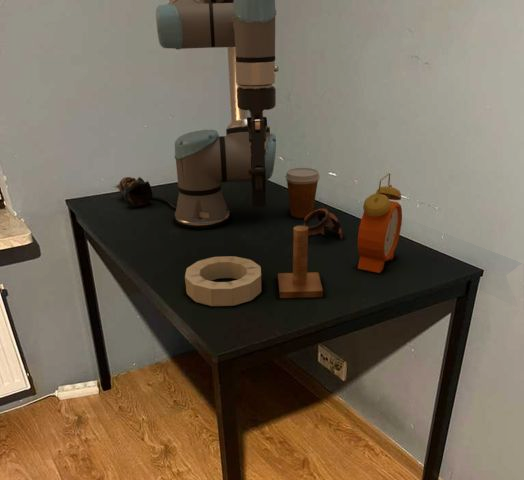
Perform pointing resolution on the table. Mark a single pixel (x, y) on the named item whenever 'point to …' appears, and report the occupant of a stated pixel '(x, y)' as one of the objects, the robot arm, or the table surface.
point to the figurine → (135, 191)
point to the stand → (300, 271)
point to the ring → (223, 292)
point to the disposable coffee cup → (302, 190)
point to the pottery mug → (322, 222)
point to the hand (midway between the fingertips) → (258, 195)
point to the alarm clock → (379, 228)
